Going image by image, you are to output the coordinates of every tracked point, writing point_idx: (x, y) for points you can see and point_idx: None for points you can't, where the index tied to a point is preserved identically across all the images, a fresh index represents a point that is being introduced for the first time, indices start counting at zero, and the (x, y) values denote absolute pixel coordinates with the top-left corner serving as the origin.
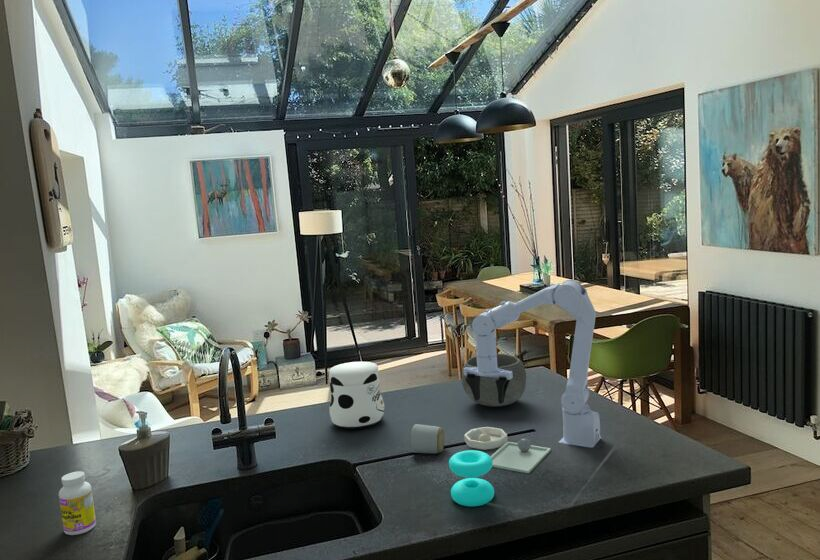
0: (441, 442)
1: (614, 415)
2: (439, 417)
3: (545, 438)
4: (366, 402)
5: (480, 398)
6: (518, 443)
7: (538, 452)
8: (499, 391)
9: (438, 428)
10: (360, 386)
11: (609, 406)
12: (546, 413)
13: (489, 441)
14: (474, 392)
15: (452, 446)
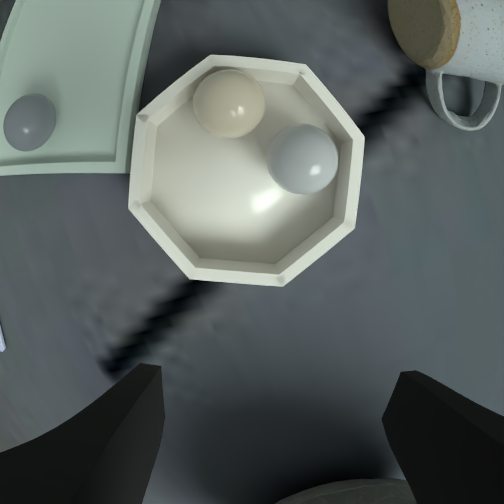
0: (407, 10)
1: None
2: (481, 365)
3: (37, 301)
4: None
5: (377, 487)
6: (40, 99)
7: (5, 138)
8: (75, 442)
9: None
10: None
11: None
12: (150, 483)
13: (187, 78)
14: (458, 407)
15: (382, 96)
